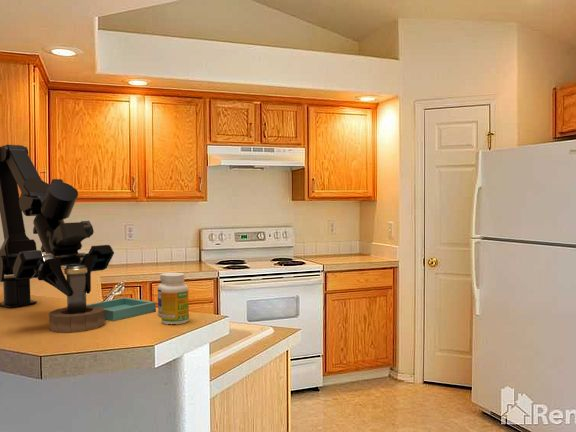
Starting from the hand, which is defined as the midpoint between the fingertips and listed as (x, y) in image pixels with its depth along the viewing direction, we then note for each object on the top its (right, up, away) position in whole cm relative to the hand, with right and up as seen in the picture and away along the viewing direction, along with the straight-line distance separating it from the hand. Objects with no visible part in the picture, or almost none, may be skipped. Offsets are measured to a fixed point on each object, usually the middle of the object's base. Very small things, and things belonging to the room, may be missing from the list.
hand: (79, 293), depth 103 cm
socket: (-1, -7, +1) cm, 7 cm away
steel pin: (-1, -7, +1) cm, 7 cm away
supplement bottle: (+18, -6, +3) cm, 19 cm away
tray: (+4, -6, +13) cm, 14 cm away
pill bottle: (+16, -6, +10) cm, 20 cm away
